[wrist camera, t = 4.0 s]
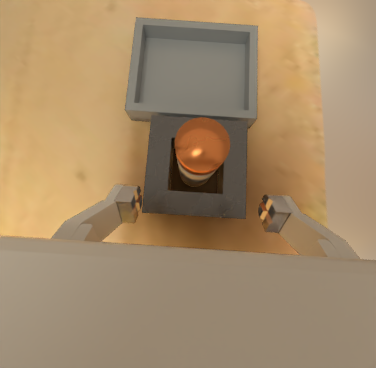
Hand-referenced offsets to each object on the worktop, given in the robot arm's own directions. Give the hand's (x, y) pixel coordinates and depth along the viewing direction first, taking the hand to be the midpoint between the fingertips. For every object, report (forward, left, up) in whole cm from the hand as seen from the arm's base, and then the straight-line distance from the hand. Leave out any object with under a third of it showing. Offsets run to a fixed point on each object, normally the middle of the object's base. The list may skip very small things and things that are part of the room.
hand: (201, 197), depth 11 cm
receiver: (0, +4, -10) cm, 11 cm away
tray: (-1, +17, -10) cm, 20 cm away
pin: (0, +4, -10) cm, 11 cm away
